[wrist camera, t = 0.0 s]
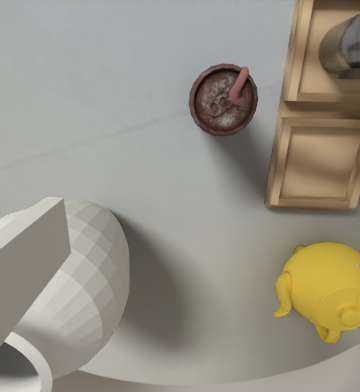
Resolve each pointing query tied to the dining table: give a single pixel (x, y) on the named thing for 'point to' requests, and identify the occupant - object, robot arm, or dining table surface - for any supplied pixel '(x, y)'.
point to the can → (223, 99)
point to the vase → (70, 303)
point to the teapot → (322, 287)
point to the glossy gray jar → (342, 49)
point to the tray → (316, 119)
